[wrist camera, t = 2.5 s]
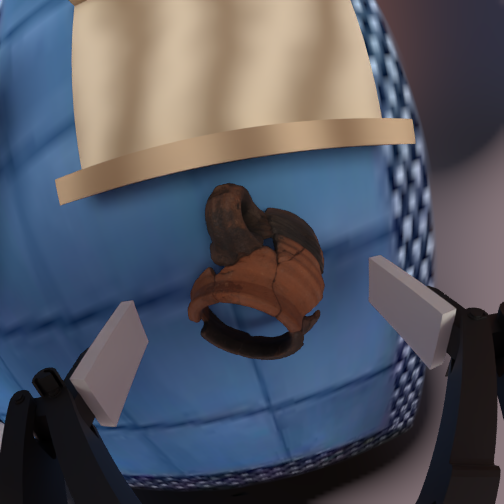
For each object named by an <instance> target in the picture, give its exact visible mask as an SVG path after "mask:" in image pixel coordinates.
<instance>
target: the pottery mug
mask: <svg viewBox="0 0 504 504" xmlns="http://www.w3.org/2000/svg"><path fill="white" fill-rule="evenodd" d="M205 220H206V224H207V230H208V233H209V235H210V237H211V239H212V243H211V245H210V251H211V259H212V260H213V262H214V263H215V264H217V265H219V266H225V267H224V269H222V270H221V271H220V273H218V274H217V275H216V274H215V272H214V270H213V268H211V267H208V268H207V269H206V270H205V271H204V272H203V273H202V274H201V275H200V277H199V278H198V279H197V280H196V281H195V283H194V285H193V288H192V290H191V302H190V304H189V307H188V316H189V319H190V320H191V321H194V322H196V323H198V322H199V321H200V320H201V319H202V320H203V321H204V326H203V328H202V330H201V336H202V337H203V338H204V339H206V340H207V341H208V342H210V343H211V344H213V345H215V346H216V347H218V348H221V349H223V350H225V351H227V352H230V353H233V354H236V355H240V356H243V357H248V358H252V359H253V358H254V359H261V360H275V359H281V358H283V357H287V356H290V355H292V354H294V353H295V352H297V351H298V350H299V349H300V348H301V347H302V346H303V345H304V343H303V340H304V335H305V334H306V333H307V332H308V331H309V330H310V329H311V328H312V327H313V325H314V324H315V323H316V322H317V320H318V319H319V317H320V310H317V311H315V313H314V314H313V315H311V316H305V315H306V314H307V313H309V312H310V311H311V310H312V309H313V308H314V307H315V306H316V305H317V304H318V303H319V302H320V301H321V299H322V298H323V290H324V286H325V285H324V281H323V279H322V276H321V274H323V268H324V258H323V252H322V250H321V248H320V245H319V243H318V239H317V237H316V235H315V233H314V231H313V230H312V228H311V227H310V226H309V225H308V224H307V223H306V222H305V221H304V220H303V219H301V218H300V217H298V216H297V215H295V214H293V213H291V212H289V211H285V210H281V209H276V208H267V210H266V211H265V213H264V212H263V211H262V210H260V209H259V208H258V207H257V206H256V205H255V204H254V202H253V201H252V198H251V196H250V194H249V192H248V191H247V189H246V188H244V187H243V186H239V185H235V184H231V183H227V184H223V185H219V186H217V187H215V189H214V190H213V192H212V194H211V195H210V197H209V198H208V200H207V204H206V208H205ZM270 237H271V238H272V239H273V243H274V247H275V250H272V249H271V248H270V247H268V246H264V245H263V243H264V239H267V238H270ZM219 302H222V303H233V304H238V305H243V306H248V307H251V308H255V309H257V310H260V311H263V312H265V313H267V314H269V315H271V316H274V317H275V318H276V319H277V320H279V321H280V322H281V323H282V324H283V325H284V326H285V327H286V328H287V329H288V330H289V332H286V333H285V334H283V335H281V336H277V337H264V336H250V334H248V333H246V332H243V331H240V330H237V329H234V328H232V327H229V326H227V325H226V324H224V323H223V322H222V321H221V320H220V319H219V318H218V317H217V316H216V315H215V314H214V313H213V312H212V311H211V310H210V309H209V307H208V306H209V305H212V304H215V303H219Z"/></svg>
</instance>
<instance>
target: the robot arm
mask: <svg viewBox="0 0 504 504" xmlns="http://www.w3.org/2000/svg"><path fill="white" fill-rule="evenodd" d="M369 302H370V303H371V304H372V305H373V306H374V307H375V309H376V310H377V311H378V312H379V313H380V314H381V315H382V316H383V317H384V318H385V319H386V320H387V322H388V323H389V324H390V325H391V326H392V327H393V328H394V329H395V330H396V331H397V333H398V334H399V335H400V336H401V337H402V338H403V339H404V340H405V341H406V343H407V344H408V345H409V346H410V347H411V348H412V349H413V350H414V352H415V353H416V354H417V355H418V356H419V357H420V359H421V360H422V361H423V362H424V363H425V364H426V365H427V367H428V368H429V369H432V368H435V367H437V366H439V365H441V364H443V362H444V359H445V356H446V352H447V353H448V354H449V355H450V356H451V360H450V363H449V366H448V370H447V372H446V375H445V376H448V381H447V389H446V395H445V402H444V408H443V414H442V419H441V423H440V428H439V432H438V437H437V441H436V445H435V449H434V452H433V456H432V460H431V463H430V466H429V470H428V473H427V476H426V479H425V482H424V485H423V487H422V490H421V493H420V495H419V498H418V500H417V502H416V504H495V501H496V497H497V491H498V487H499V481H500V468H499V466H496V465H494V454H495V445H496V432H497V395H498V399H499V403H500V406H501V410H502V415H503V419H504V302H502V304H500V307H499V310H498V313H496V314H491V315H488V313H486V312H485V311H484V310H482V309H479V308H468V309H465V308H463V307H462V306H461V305H459V304H458V303H457V302H455V301H454V300H452V299H451V298H449V297H448V296H447V295H444V293H443V292H441V291H440V290H438V289H437V288H434V287H431V286H425V285H423V284H422V283H421V282H419V281H418V280H416V279H415V278H414V277H412V276H411V275H409V274H408V273H406V272H405V271H403V270H402V269H400V268H399V267H398V266H396V265H395V264H393V263H392V262H390V261H389V260H387V259H386V258H384V257H383V256H381V255H379V256H374V257H370V258H369ZM148 342H149V341H148V339H147V336H146V334H145V331H144V329H143V326H142V324H141V321H140V318H139V316H138V313H137V310H136V307H135V305H134V302H133V300H132V301H125V302H121V303H120V304H119V306H118V307H117V309H116V310H115V311H114V313H113V314H112V316H111V317H110V318H109V320H108V321H107V323H106V324H105V326H104V327H103V329H102V330H101V331H100V333H99V334H98V336H97V337H96V339H95V340H94V342H93V343H92V345H91V346H90V348H87V349H86V350H85V351H84V352H83V353H82V354H81V355H80V356H79V358H78V359H77V361H76V362H75V364H74V365H73V368H71V370H70V371H69V373H68V374H67V376H66V378H65V379H64V381H63V380H62V379H61V377H60V375H59V374H58V372H57V370H56V369H55V368H45V369H43V370H41V371H39V372H38V373H37V374H36V375H35V376H34V378H33V380H32V384H33V385H34V387H35V388H36V390H37V391H38V393H39V394H40V395H41V397H39V398H33V397H32V395H31V394H30V393H29V391H27V390H21V391H18V392H16V393H15V394H14V395H13V396H12V398H11V399H10V402H9V406H8V410H7V415H6V420H5V425H4V430H3V436H2V442H1V449H0V504H68V502H67V496H66V489H65V481H66V483H67V486H68V488H69V491H70V493H71V496H72V498H73V500H74V502H75V504H142V503H141V502H140V501H139V499H138V498H137V497H136V495H135V494H134V492H133V491H132V489H131V488H130V486H129V485H128V483H127V482H126V480H125V479H124V477H123V475H122V474H121V472H120V471H119V469H118V467H117V466H116V464H115V462H114V461H113V459H112V457H111V455H110V454H109V452H108V450H107V448H106V446H105V444H104V443H103V441H102V439H101V437H100V435H99V433H98V431H97V429H96V427H95V426H94V425H93V420H94V418H96V419H97V420H98V422H99V423H100V424H101V426H111V427H116V426H117V423H118V420H119V417H120V414H121V411H122V409H123V406H124V403H125V400H126V398H127V395H128V392H129V390H130V387H131V384H132V382H133V379H134V376H135V374H136V371H137V369H138V366H139V364H140V361H141V359H142V356H143V354H144V351H145V349H146V346H147V344H148ZM34 437H35V438H34ZM64 478H65V481H64Z"/></svg>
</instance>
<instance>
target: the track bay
mask: <svg viewBox="0 0 504 504" xmlns="http://www.w3.org/2000/svg"><path fill="white" fill-rule="evenodd" d="M69 1H70V2H71V3H72V4H73V5H74V6H75V8H74V19H73V34H72V88H73V104H74V116H75V126H76V134H77V142H78V149H79V156H80V162H81V168H82V170H79V171H77V172H74V173H71V174H69V175H66V176H63V177H61V178H58V179H56V180H55V182H56V188H57V193H58V198H59V202H60V205H63V204H66V203H69V202H72V201H76V200H79V199H82V198H86V197H89V196H92V195H96V194H99V193H102V192H106V191H109V190H112V189H116V188H119V187H123V186H126V185H130V184H134V183H137V182H141V181H145V180H149V179H153V178H157V177H161V176H165V175H169V174H174V173H178V172H183V171H187V170H192V169H196V168H201V167H206V166H211V165H216V164H222V163H227V162H233V161H239V160H244V159H251V158H257V157H264V156H270V155H278V154H285V153H293V152H301V151H310V150H320V149H331V148H342V147H356V146H374V145H392V144H416V143H415V136H414V129H413V122H412V119H395V118H382V117H381V112H380V106H379V101H378V96H377V91H376V86H375V82H374V77H373V73H372V69H371V65H370V61H369V57H368V54H367V50H366V47H365V43H364V40H363V36H362V33H361V30H360V27H359V24H358V21H357V18H356V15H355V12H354V9H353V6H352V4H351V1H350V0H69Z"/></svg>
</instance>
